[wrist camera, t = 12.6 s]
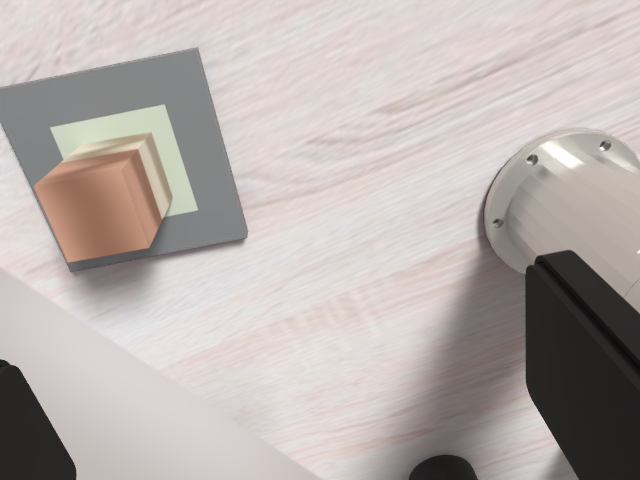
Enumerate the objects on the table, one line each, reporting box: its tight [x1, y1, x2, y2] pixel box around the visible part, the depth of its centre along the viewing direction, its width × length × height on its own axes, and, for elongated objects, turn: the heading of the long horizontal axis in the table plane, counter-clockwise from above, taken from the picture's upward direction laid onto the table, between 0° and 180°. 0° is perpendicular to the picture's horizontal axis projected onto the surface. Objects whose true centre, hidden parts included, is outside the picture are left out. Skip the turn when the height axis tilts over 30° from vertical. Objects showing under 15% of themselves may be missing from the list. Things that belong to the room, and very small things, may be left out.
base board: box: [0, 47, 248, 272], centre depth 38 cm, size 14×14×1 cm
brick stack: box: [34, 132, 173, 263], centre depth 34 cm, size 5×5×8 cm
